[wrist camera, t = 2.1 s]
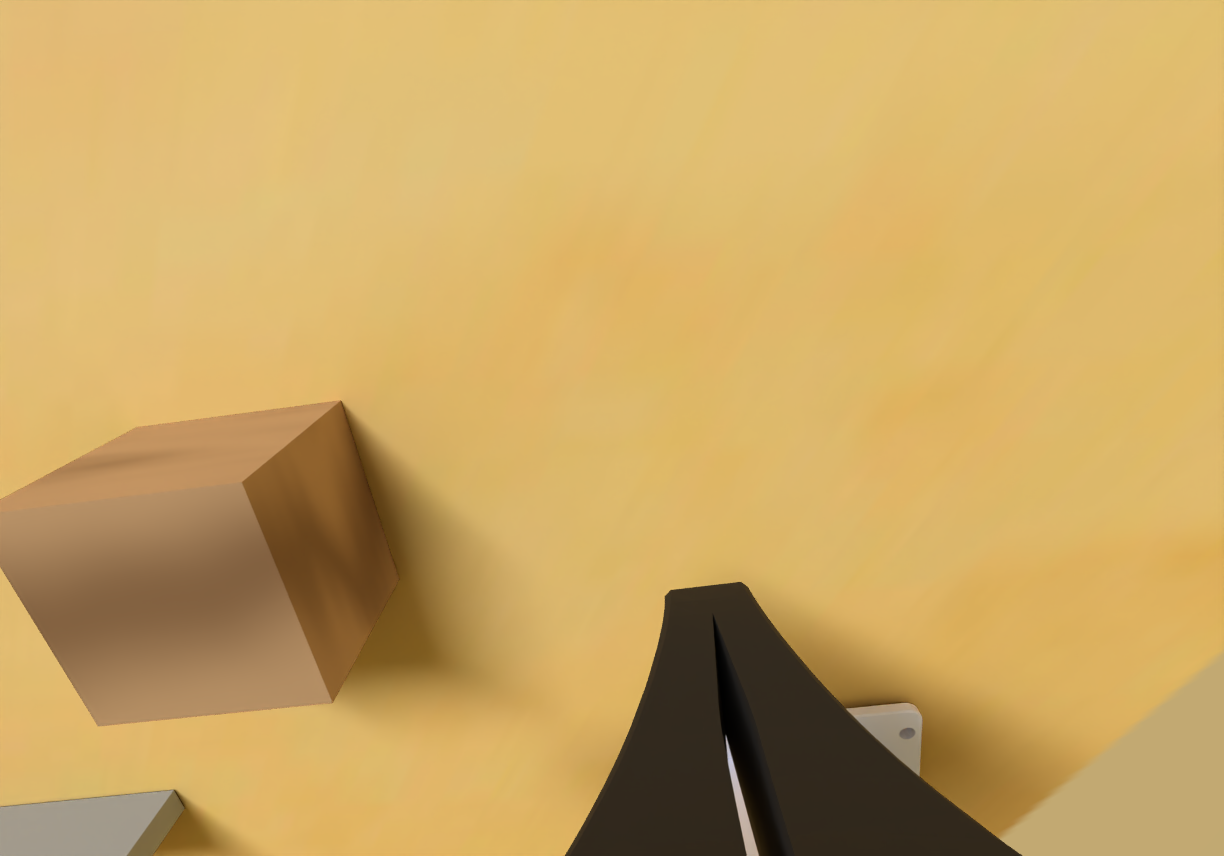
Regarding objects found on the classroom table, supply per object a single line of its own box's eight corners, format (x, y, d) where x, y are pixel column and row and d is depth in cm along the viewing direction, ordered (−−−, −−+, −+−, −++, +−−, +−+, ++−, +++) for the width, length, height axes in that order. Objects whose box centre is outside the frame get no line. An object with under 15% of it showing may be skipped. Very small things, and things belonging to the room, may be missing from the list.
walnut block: (400, 576, 20) (332, 702, 15) (219, 597, 20) (98, 726, 15) (342, 398, 17) (241, 482, 13) (138, 425, 18) (-31, 516, 13)
